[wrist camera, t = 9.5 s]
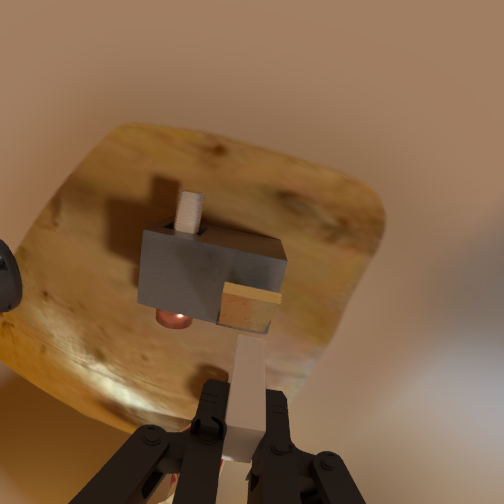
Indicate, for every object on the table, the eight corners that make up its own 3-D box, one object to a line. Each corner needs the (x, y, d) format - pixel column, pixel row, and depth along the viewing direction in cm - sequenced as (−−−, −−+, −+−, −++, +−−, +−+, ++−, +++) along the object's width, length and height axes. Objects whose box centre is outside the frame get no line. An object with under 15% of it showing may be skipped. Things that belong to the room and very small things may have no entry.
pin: (162, 306, 34) (150, 322, 30) (178, 187, 30) (165, 189, 26) (195, 314, 34) (187, 332, 30) (216, 194, 30) (209, 197, 26)
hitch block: (163, 274, 36) (136, 302, 27) (170, 216, 34) (142, 229, 25) (265, 298, 36) (267, 333, 27) (280, 240, 34) (287, 261, 25)
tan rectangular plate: (217, 316, 27) (215, 325, 26) (221, 280, 21) (218, 291, 20) (266, 326, 27) (264, 335, 27) (285, 293, 21) (284, 305, 20)
